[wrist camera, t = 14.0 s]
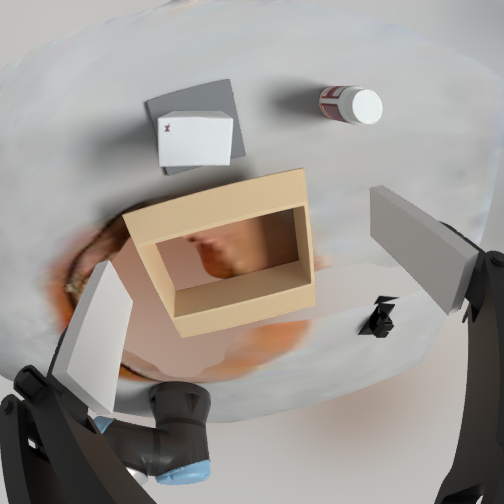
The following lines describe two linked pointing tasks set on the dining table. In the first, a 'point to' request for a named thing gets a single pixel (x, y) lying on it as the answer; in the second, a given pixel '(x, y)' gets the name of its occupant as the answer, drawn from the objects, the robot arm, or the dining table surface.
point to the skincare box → (194, 138)
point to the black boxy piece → (379, 318)
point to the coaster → (200, 99)
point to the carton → (240, 287)
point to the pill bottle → (351, 104)
